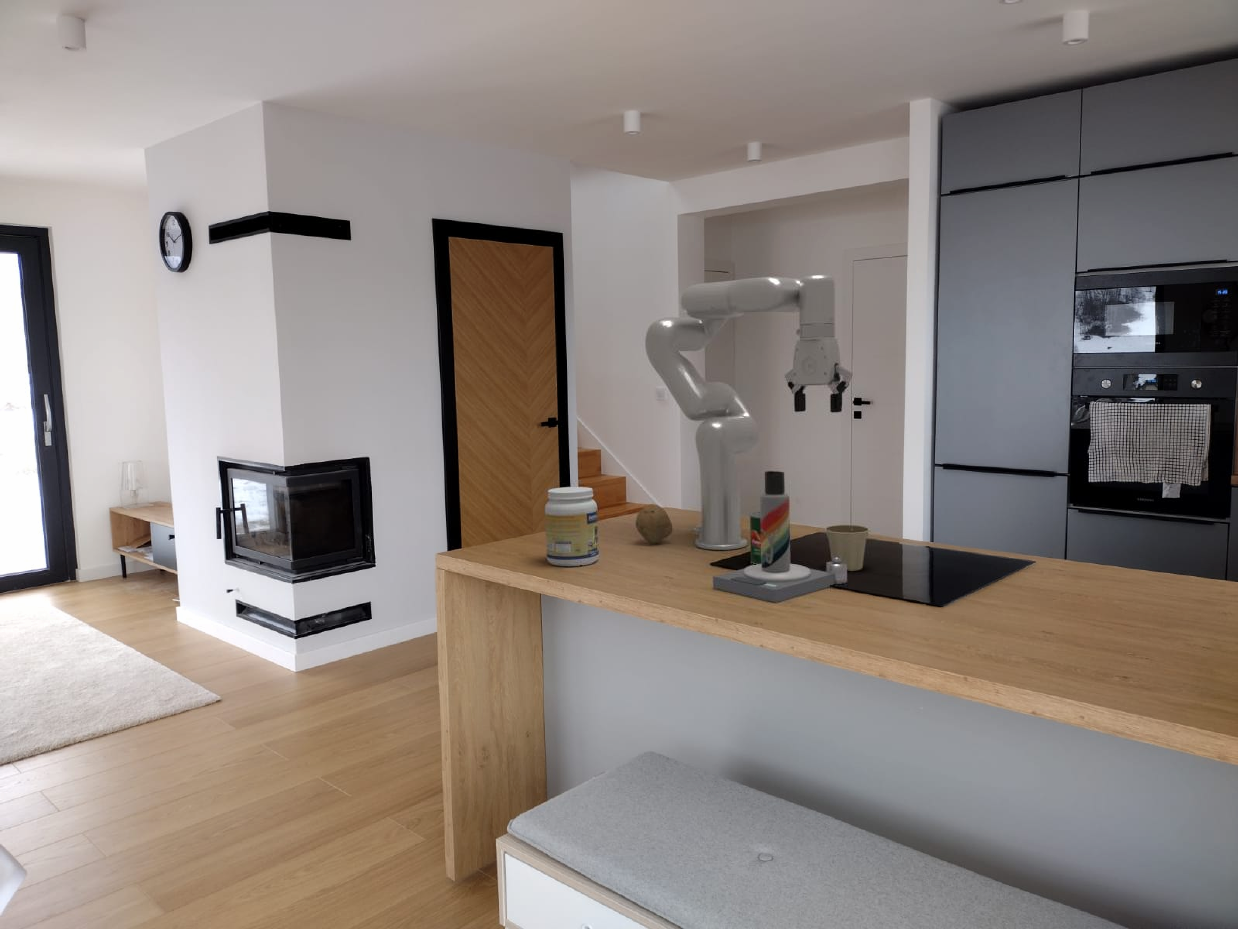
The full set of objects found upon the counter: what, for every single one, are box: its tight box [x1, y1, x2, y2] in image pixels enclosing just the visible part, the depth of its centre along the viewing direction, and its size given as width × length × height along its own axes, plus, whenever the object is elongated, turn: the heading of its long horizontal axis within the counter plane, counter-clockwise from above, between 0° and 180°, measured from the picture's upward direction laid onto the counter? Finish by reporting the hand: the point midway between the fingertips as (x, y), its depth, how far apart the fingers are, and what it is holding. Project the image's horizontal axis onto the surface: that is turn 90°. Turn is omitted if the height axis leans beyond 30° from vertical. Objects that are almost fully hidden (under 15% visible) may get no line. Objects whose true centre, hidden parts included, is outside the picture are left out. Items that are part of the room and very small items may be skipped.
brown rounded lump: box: [635, 503, 673, 545], centre depth 223 cm, size 9×9×10 cm
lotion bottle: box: [759, 470, 791, 573], centre depth 175 cm, size 6×6×20 cm
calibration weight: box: [825, 557, 848, 584], centre depth 177 cm, size 4×4×5 cm
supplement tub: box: [544, 486, 600, 567], centre depth 204 cm, size 12×12×17 cm
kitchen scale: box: [712, 563, 835, 604], centre depth 175 cm, size 16×18×3 cm
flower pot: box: [824, 524, 871, 572], centre depth 189 cm, size 9×9×9 cm
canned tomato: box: [749, 511, 761, 565], centre depth 196 cm, size 8×8×11 cm
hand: (817, 411), depth 194 cm, fingers open, 9 cm apart
